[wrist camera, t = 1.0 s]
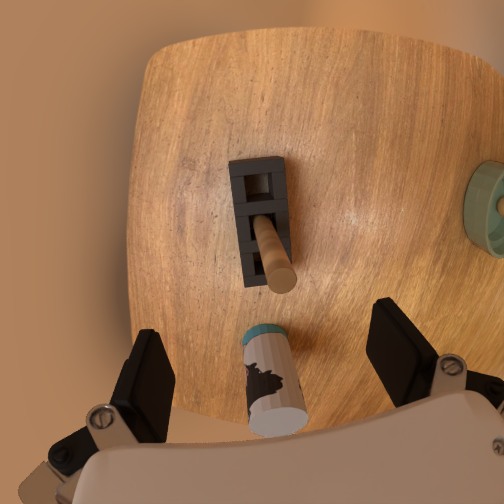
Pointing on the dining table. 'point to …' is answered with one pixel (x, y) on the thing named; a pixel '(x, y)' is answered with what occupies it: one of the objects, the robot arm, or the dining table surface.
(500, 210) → the dough ball
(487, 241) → the bowl
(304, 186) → the dining table surface
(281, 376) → the printed cylindrical canister
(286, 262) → the stick
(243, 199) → the holder
